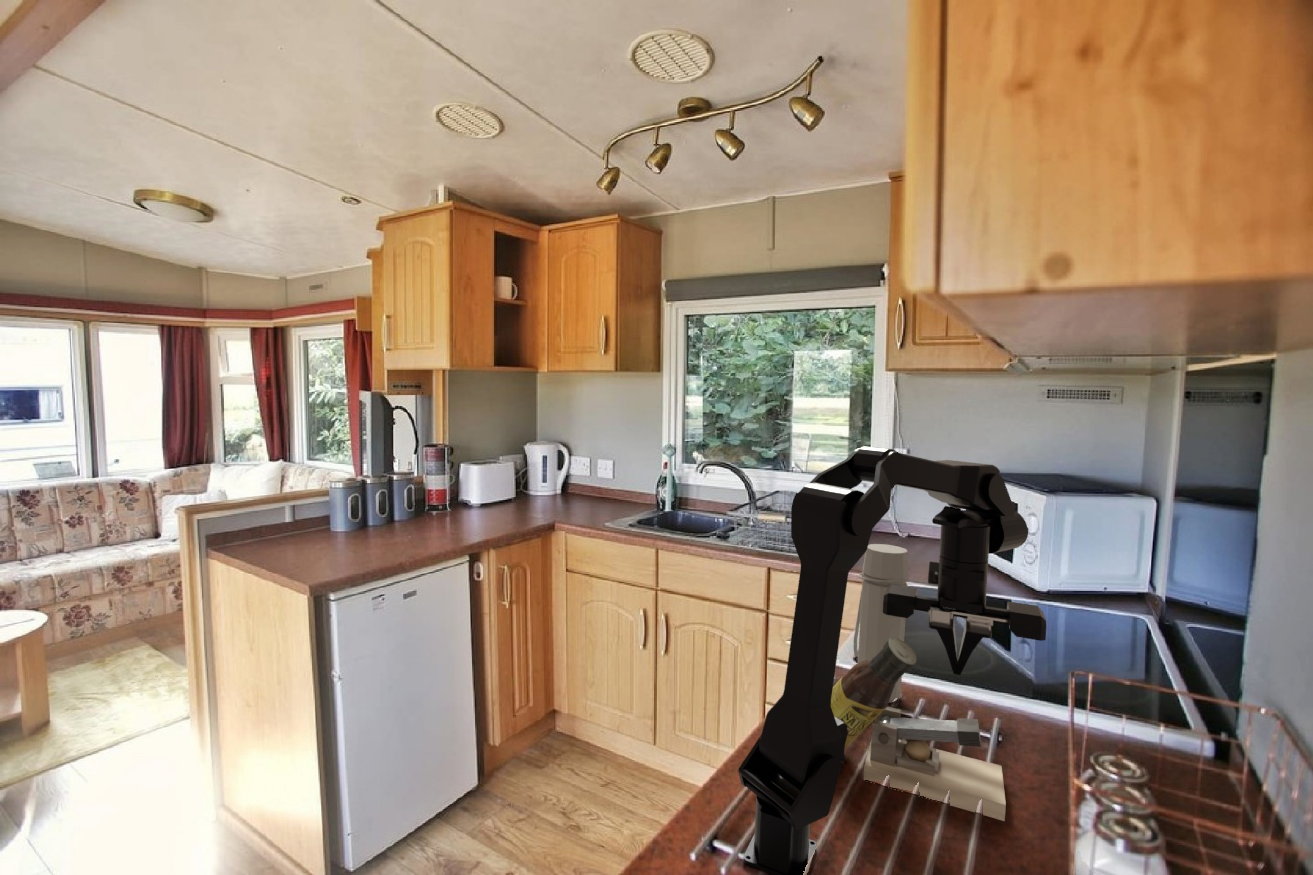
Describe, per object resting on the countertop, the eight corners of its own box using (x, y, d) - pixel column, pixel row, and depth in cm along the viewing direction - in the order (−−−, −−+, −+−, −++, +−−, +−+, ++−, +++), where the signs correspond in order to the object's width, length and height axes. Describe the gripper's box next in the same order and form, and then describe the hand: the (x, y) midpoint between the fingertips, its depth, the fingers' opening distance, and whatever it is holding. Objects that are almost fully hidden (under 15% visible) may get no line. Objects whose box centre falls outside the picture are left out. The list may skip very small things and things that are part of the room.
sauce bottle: (812, 760, 83) (893, 672, 74) (794, 716, 88) (867, 628, 78) (850, 758, 86) (933, 673, 76) (830, 716, 91) (906, 630, 81)
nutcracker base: (1004, 821, 73) (1008, 763, 73) (863, 779, 80) (866, 727, 80) (1000, 780, 81) (1004, 728, 81) (872, 746, 88) (875, 698, 88)
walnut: (928, 770, 79) (930, 747, 79) (903, 763, 81) (905, 741, 81) (929, 758, 82) (931, 736, 82) (905, 752, 83) (906, 730, 83)
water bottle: (911, 700, 103) (921, 551, 101) (878, 710, 99) (888, 556, 97) (868, 677, 111) (876, 539, 109) (836, 685, 107) (844, 543, 105)
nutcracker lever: (980, 746, 76) (978, 732, 76) (878, 739, 82) (876, 726, 82) (980, 733, 80) (977, 719, 80) (881, 727, 85) (879, 714, 85)
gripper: (1040, 553, 84) (1033, 665, 85) (893, 536, 92) (888, 638, 93) (1050, 574, 74) (1042, 700, 75) (884, 553, 82) (879, 667, 83)
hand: (956, 673), depth 82 cm, fingers closed
